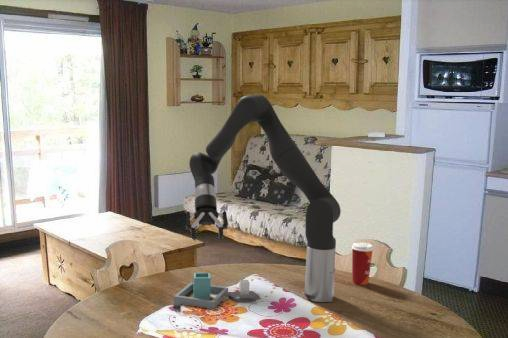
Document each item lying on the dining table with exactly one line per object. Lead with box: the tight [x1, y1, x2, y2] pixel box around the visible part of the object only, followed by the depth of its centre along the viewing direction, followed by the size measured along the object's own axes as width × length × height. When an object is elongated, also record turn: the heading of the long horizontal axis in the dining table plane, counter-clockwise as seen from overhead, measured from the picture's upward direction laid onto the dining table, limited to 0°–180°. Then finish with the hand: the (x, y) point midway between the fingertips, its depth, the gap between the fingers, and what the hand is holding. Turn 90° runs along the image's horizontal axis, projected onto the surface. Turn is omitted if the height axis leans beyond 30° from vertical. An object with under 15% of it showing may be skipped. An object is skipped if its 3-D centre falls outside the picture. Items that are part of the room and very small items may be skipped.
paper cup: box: [351, 241, 374, 286], centre depth 181 cm, size 8×8×14 cm
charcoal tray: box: [173, 282, 229, 310], centre depth 158 cm, size 13×13×4 cm
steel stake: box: [227, 279, 261, 304], centre depth 160 cm, size 10×10×6 cm
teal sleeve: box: [192, 272, 212, 300], centre depth 158 cm, size 5×5×8 cm
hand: (207, 239), depth 169 cm, fingers open, 8 cm apart
